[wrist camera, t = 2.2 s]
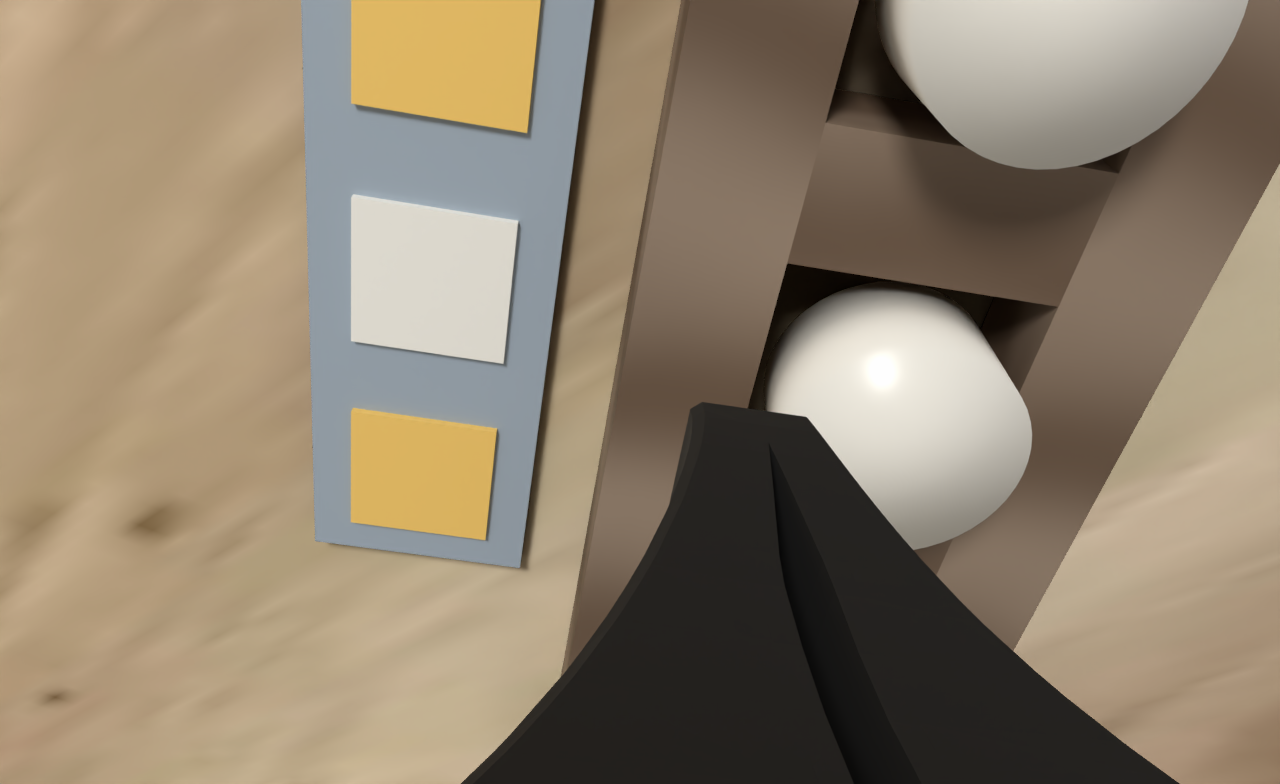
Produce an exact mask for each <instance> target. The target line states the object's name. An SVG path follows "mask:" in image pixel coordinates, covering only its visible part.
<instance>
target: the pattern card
mask: <svg viewBox="0 0 1280 784" xmlns="http://www.w3.org/2000/svg"><path fill="white" fill-rule="evenodd" d="M594 4H595V0H301V8H302V46H303V85H304V124H305V163H306V201H307V240H308V279H309V317H310V356H311V395H312V434H313V472H314V511H315V541H319V542H327V543H334V544H342V545H349V546H357V547H364V548H372V549H379V550H387V551H395V552H402V553H410V554H417V555H425V556H432V557H440V558H448V559H455V560H463V561H470V562H478V563H485V564H493V565H500V566H508V567H516V568H520V564H521V558H522V551H523V544H524V536H525V528H526V521H527V513H528V506H529V498H530V490H531V483H532V475H533V468H534V460H535V452H536V445H537V437H538V430H539V422H540V414H541V407H542V399H543V392H544V384H545V376H546V369H547V361H548V354H549V346H550V338H551V331H552V323H553V316H554V308H555V300H556V293H557V285H558V278H559V270H560V262H561V255H562V247H563V240H564V232H565V224H566V217H567V209H568V202H569V194H570V186H571V179H572V171H573V164H574V156H575V149H576V141H577V133H578V126H579V118H580V111H581V103H582V95H583V88H584V80H585V73H586V65H587V57H588V50H589V42H590V35H591V27H592V19H593V12H594Z"/></svg>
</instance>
